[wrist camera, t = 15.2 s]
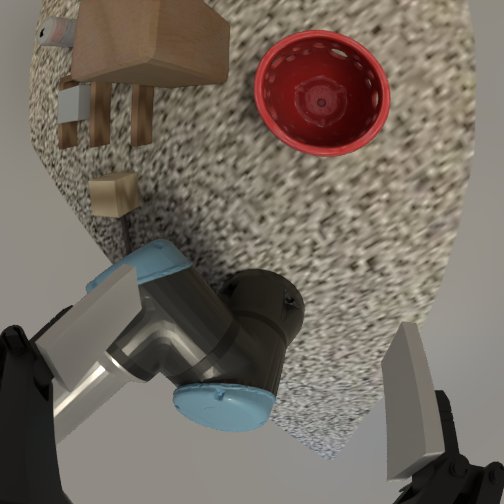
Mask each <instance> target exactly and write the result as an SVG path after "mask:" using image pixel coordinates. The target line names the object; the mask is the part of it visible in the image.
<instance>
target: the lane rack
mask: <svg viewBox="0 0 504 504" xmlns="http://www.w3.org/2000/svg"><path fill="white" fill-rule="evenodd" d="M79 82H80V81H76V80H73V79H72V76H71V75H68V76H65V77H62V78H60V89H59V91H62V90H65V89H68V88H72V87H75V86H78V84H79ZM111 86H112V83H111V82H91V97H90V147H98V146H102V145H107V144H110V104H111ZM153 96H154V86H148V85H138V84H133V92H132V111H131V146H141V145H146V144H151V143H152V115H153ZM58 133H59V149H65V148H69V147H73V146H77V121H72V122H66V123H59V124H58Z"/></svg>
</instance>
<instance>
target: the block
mask: <svg viewBox="0 0 504 504" xmlns="http://www.w3.org/2000/svg"><path fill="white" fill-rule="evenodd" d="M90 97H91V85H79V86H75V87H72V88H68V89H65V90H62V91H59V92H58V124H59V123H66V122H72V121H79V120H86V119H90Z"/></svg>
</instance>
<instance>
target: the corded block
mask: <svg viewBox="0 0 504 504" xmlns="http://www.w3.org/2000/svg"><path fill="white" fill-rule="evenodd" d="M89 189H90V197H91V204H92V211H93V215H95V216H106V217H116V218H119V217H121V221H122V228H123V234H124V241H125V247H126V253H127V255H129V254H130V253H132V252H131V245H130V239H129V232H128V225H127V218H126V213H128V212H130V211H132V210H133V209H135V208H137V207H139V195H138V183H137V172H129V173H109V174H106V175H103V176H101V177H98V178H95V179H92V180H90V181H89Z"/></svg>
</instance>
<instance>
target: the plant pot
mask: <svg viewBox="0 0 504 504" xmlns="http://www.w3.org/2000/svg"><path fill="white" fill-rule="evenodd" d="M331 49H338V50H340V51H342V52H344V53H345V54H346V55H347V56H348V57H345V56H342V55H339V54H337V53H335V52H333V51H332V50H331ZM305 50H308V51H305ZM292 54H293V55H292ZM279 55H281V56H280V57H279V58H278V59H277V60H276V61H275V62H274V63H273V61H274V60H275V59H276V58H277V57H278V56H279ZM290 55H292V56H290ZM288 56H290V57H289V58H287V57H288ZM272 63H273V64H272ZM358 63H359V64H360V65H361V66H362V67H361V66H360V65H359V64H358ZM271 64H272V65H271ZM368 79H369V80H370V82H371V85H370V83H369V80H368ZM377 92H378V104H377V103H376V98H377ZM254 99H255V103H256V107H257V109H258V112H259V114H260V116H261V118H262V120H263V121H264V123H265V124H266V126H267V127H268V128H269V130H270V131H271V132H272V133H273V134H274V135H275V136H276V137H277V138H278V139H279V140H281V141H282V142H283V143H285V144H286V145H288V146H290V147H291V148H293V149H295V150H297V151H300V152H303V153H306V154H309V155H314V156H322V157H334V156H341V155H345V154H348V153H351V152H354V151H356V150H358V149H360V148H362V147H363V146H365V145H366V144H368V143H369V142H370V141H371V140H372V139H374V137H375V136H376V135H377V134H378V133H379V132H380V130H381V129H382V127H383V125H384V124H385V122H386V119H387V117H388V113H389V109H390V100H391V99H390V88H389V83H388V80H387V77H386V75H385V72H384V70H383V69H382V67H381V65H380V64H379V62H378V61H377V60H376V58H375V57H374V56H373V55H372V54H371V53H370V52H369V51H368V50H367V49H366V48H365V47H364V46H362V45H361V44H359V43H358V42H356V41H355V40H353V39H351V38H349V37H347V36H344V35H342V34H339V33H335V32H331V31H325V30H309V31H303V32H299V33H295V34H292V35H290V36H288V37H286V38H284V39H282V40H280V41H279V42H277V43H276V44H275V45H274V46H272V47H271V48H270V49H269V50H268V51H267V53H266V54H265V55H264V57H263V58H262V60H261V61H260V63H259V65H258V68H257V70H256V74H255V79H254ZM269 110H270V111H269ZM270 112H271V113H270ZM272 116H273V117H272Z"/></svg>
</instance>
